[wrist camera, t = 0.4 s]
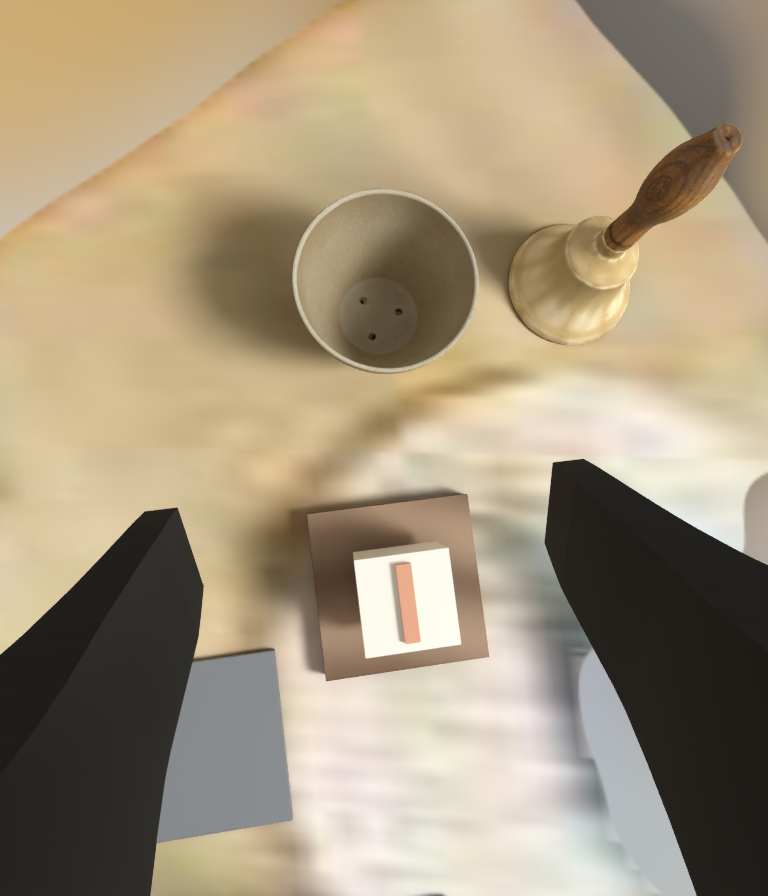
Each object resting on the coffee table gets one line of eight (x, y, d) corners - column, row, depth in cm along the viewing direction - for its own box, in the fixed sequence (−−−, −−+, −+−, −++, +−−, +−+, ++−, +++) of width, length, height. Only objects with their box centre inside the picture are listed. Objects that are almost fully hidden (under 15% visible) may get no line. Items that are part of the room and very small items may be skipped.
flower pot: (294, 387, 37) (282, 361, 30) (309, 237, 38) (301, 177, 31) (448, 401, 37) (472, 380, 30) (459, 253, 38) (485, 199, 31)
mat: (292, 816, 35) (292, 820, 34) (123, 844, 34) (121, 848, 34) (274, 649, 36) (273, 650, 35) (108, 673, 35) (105, 675, 34)
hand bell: (548, 202, 39) (687, 2, 23) (650, 269, 39) (857, 117, 23) (484, 301, 38) (583, 164, 22) (588, 369, 38) (760, 281, 22)
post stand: (484, 651, 36) (511, 682, 30) (326, 674, 36) (323, 711, 30) (463, 494, 37) (485, 494, 31) (308, 513, 36) (300, 517, 30)
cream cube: (447, 625, 34) (462, 646, 29) (363, 637, 34) (365, 660, 29) (436, 540, 34) (449, 548, 30) (352, 552, 34) (353, 561, 29)
